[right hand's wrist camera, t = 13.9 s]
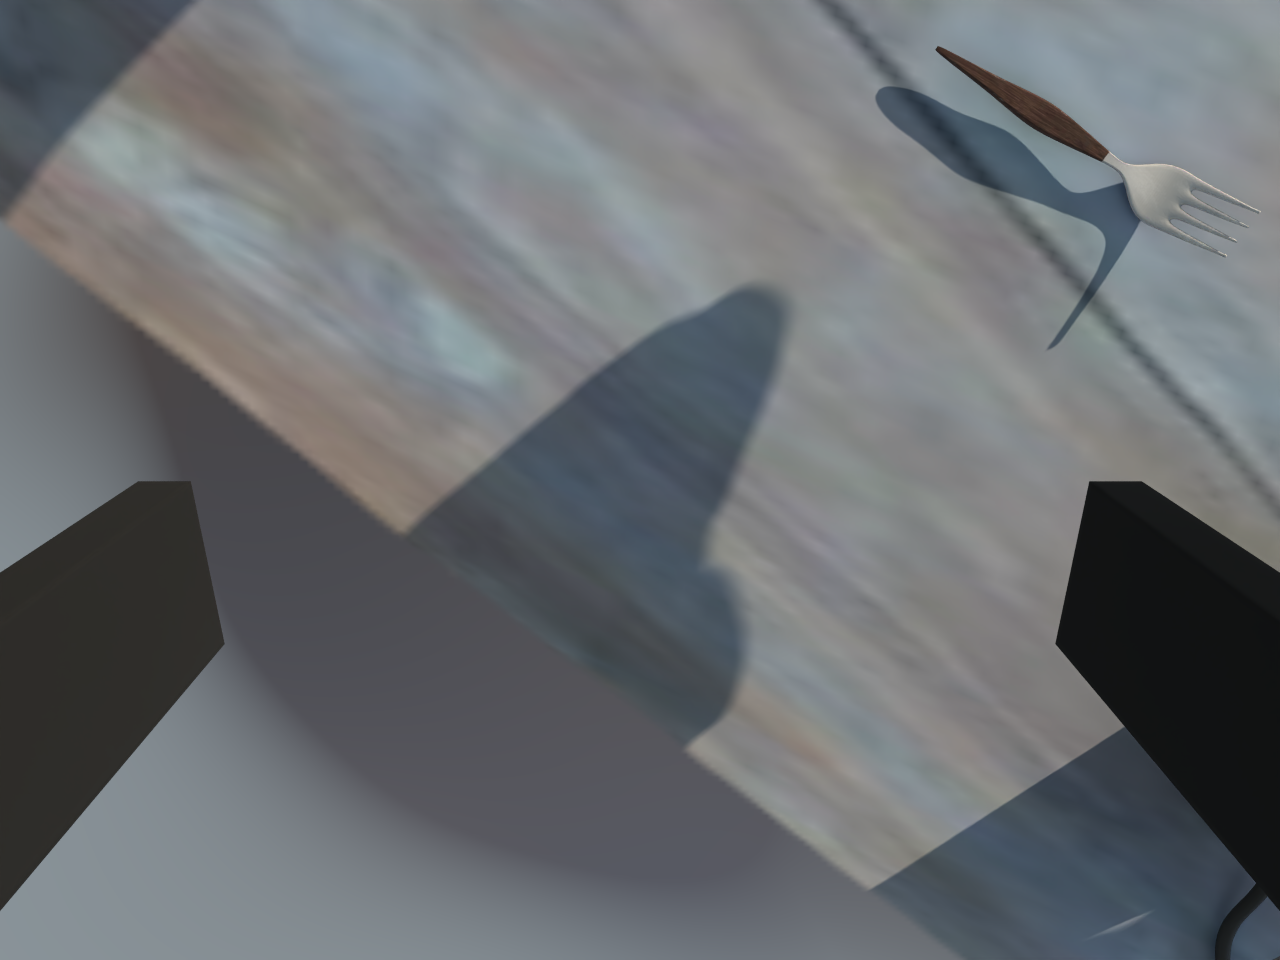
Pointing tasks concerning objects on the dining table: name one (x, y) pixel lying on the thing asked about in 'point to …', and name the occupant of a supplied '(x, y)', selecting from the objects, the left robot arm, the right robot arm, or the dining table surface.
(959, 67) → the fork
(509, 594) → the dining table surface
